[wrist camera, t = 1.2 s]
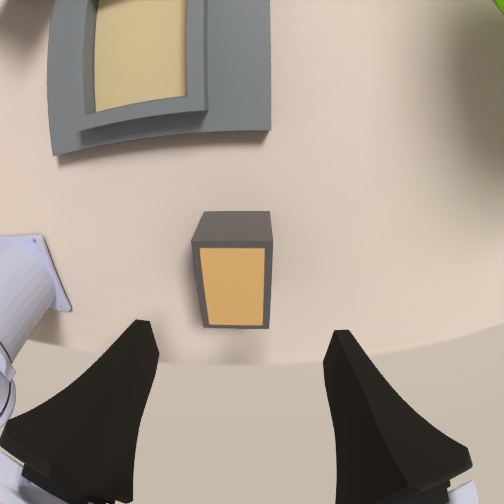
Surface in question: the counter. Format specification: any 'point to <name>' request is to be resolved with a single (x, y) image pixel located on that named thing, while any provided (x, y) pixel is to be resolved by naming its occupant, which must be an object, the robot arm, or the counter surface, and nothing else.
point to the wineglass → (500, 4)
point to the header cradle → (156, 69)
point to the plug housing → (234, 268)
